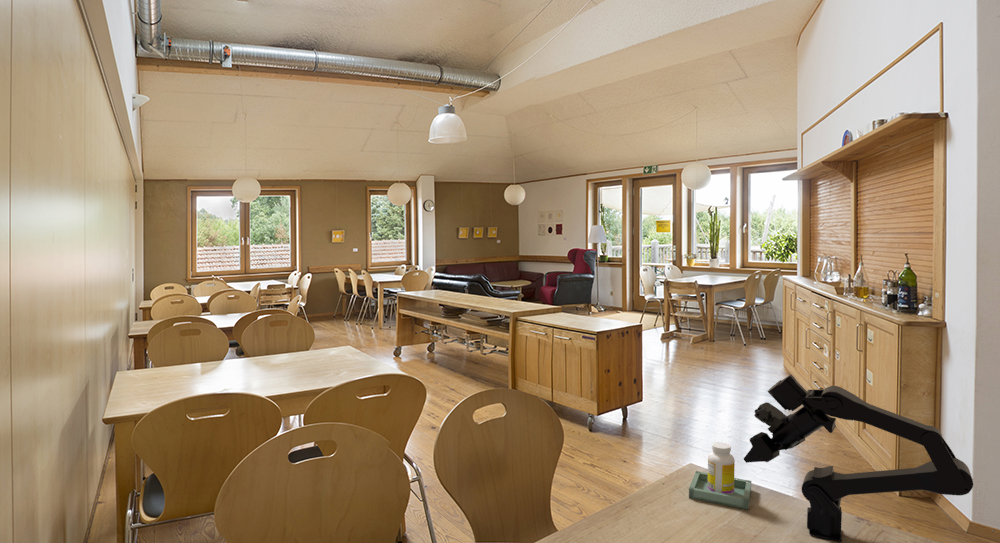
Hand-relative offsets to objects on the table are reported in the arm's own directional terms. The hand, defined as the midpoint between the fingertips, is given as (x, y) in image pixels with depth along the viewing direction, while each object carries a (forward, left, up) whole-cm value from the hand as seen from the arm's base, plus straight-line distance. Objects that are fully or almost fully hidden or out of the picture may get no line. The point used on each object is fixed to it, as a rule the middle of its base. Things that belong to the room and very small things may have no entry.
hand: (753, 455), depth 145 cm
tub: (+8, -4, -14) cm, 17 cm away
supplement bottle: (+8, -4, -13) cm, 16 cm away
